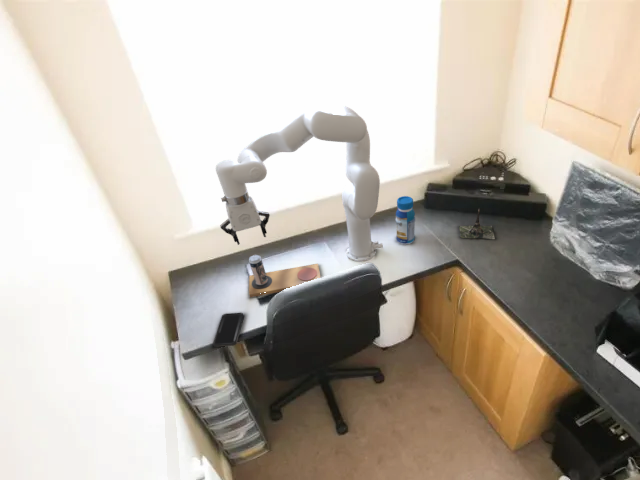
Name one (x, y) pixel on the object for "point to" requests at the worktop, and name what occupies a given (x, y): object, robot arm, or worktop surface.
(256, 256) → the beer can
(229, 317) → the phone
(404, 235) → the beverage bottle
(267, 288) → the board
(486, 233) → the eiffel tower figurine
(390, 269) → the worktop surface
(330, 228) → the worktop surface
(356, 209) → the robot arm
